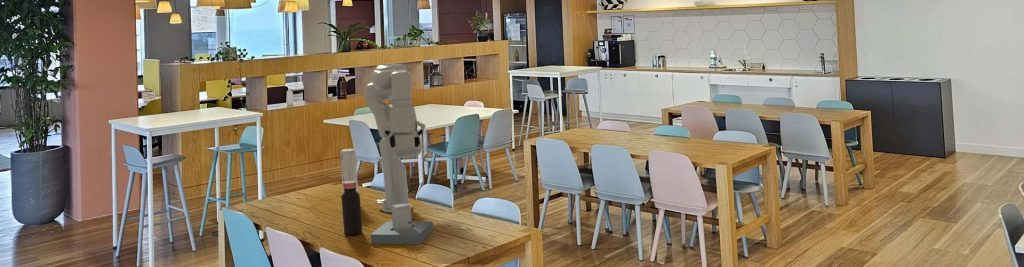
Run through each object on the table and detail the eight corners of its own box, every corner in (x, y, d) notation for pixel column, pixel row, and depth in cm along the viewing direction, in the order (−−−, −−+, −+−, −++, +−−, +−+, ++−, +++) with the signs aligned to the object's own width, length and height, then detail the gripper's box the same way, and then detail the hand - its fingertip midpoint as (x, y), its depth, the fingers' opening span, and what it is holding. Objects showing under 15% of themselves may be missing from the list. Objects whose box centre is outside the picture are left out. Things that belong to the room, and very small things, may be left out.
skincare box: (398, 239, 281) (396, 207, 280) (392, 237, 285) (390, 205, 283) (413, 236, 285) (411, 204, 283) (407, 234, 288) (405, 202, 287)
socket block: (371, 243, 278) (370, 234, 277) (387, 230, 295) (387, 221, 295) (419, 244, 274) (418, 234, 274) (433, 230, 292) (432, 221, 291)
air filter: (343, 205, 340) (339, 149, 336) (358, 203, 342) (354, 148, 338) (344, 208, 334) (340, 151, 330) (360, 206, 335) (355, 150, 332)
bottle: (340, 234, 292) (336, 182, 289) (354, 230, 297) (350, 179, 294) (352, 237, 288) (348, 184, 285) (366, 232, 293) (362, 181, 290)
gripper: (377, 104, 297) (380, 148, 299) (420, 103, 294) (423, 148, 296) (384, 102, 304) (387, 145, 307) (426, 101, 301) (429, 144, 304)
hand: (405, 146), depth 301 cm, fingers open, 9 cm apart
